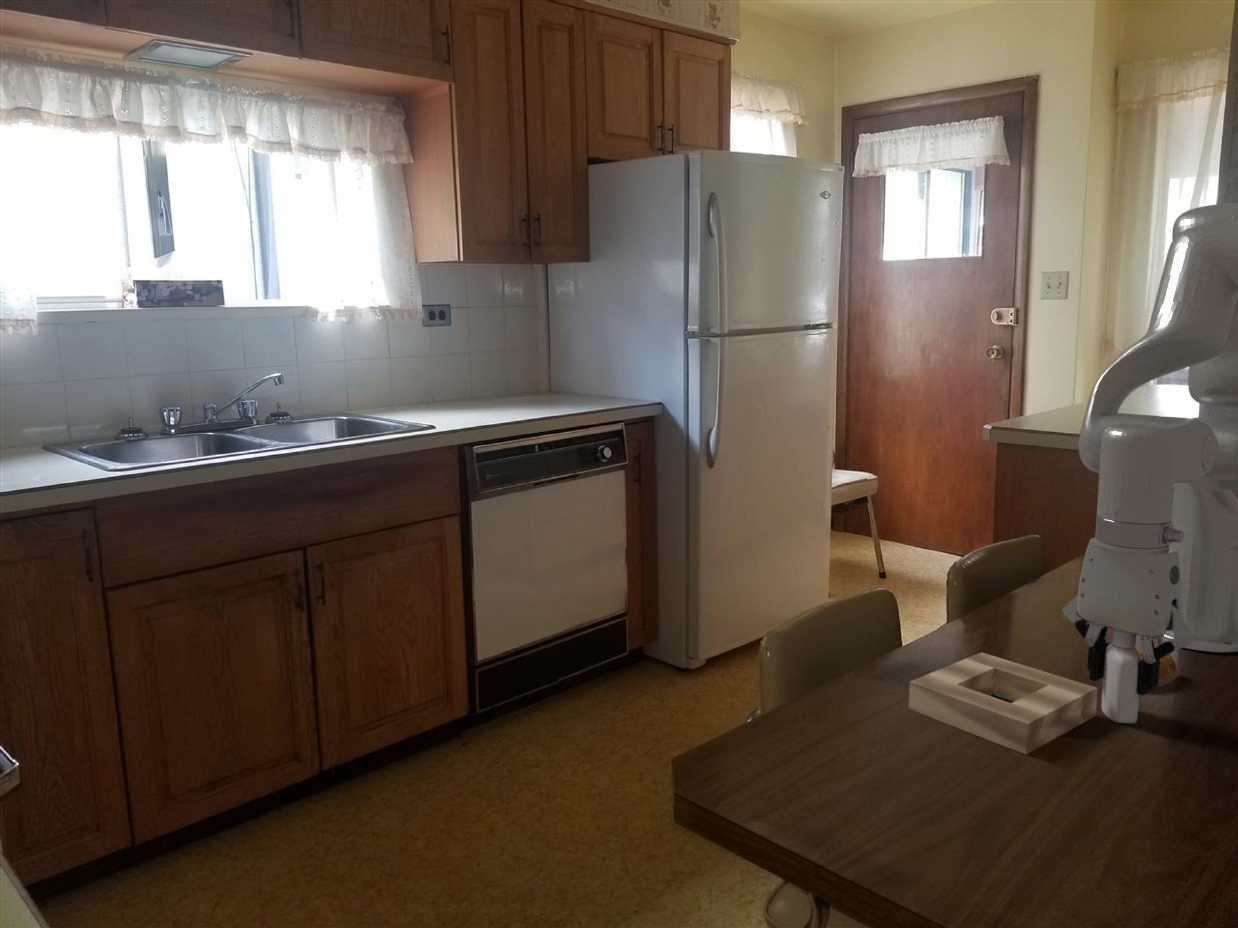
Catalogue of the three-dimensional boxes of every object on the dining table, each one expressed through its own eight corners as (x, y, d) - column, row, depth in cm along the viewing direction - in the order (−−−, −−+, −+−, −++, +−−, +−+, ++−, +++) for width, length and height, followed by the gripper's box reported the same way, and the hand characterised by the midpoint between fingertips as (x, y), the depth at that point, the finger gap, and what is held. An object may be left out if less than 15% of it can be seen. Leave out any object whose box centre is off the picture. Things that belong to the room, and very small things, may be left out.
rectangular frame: (980, 677, 124) (981, 652, 123) (1095, 716, 112) (1097, 687, 112) (908, 709, 115) (909, 681, 114) (1026, 754, 103) (1027, 723, 103)
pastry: (1154, 699, 117) (1156, 669, 116) (1097, 684, 122) (1098, 655, 121) (1182, 678, 123) (1184, 650, 122) (1126, 664, 128) (1128, 637, 127)
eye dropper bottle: (1145, 711, 113) (1152, 613, 111) (1133, 727, 109) (1140, 627, 107) (1105, 702, 116) (1111, 606, 114) (1092, 717, 112) (1098, 619, 110)
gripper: (1228, 541, 104) (1214, 699, 107) (1076, 515, 118) (1067, 656, 121) (1198, 553, 100) (1184, 717, 103) (1043, 525, 113) (1035, 671, 116)
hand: (1121, 683), depth 112 cm, fingers closed on eye dropper bottle, 4 cm apart
